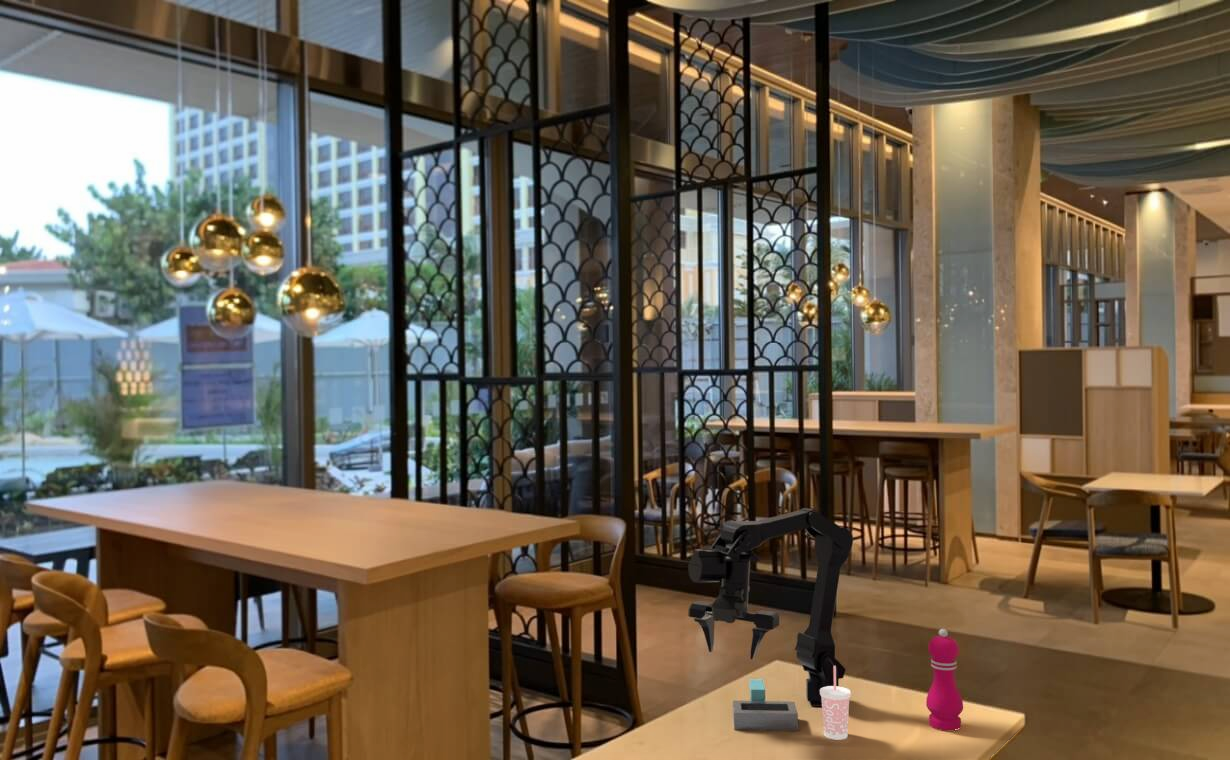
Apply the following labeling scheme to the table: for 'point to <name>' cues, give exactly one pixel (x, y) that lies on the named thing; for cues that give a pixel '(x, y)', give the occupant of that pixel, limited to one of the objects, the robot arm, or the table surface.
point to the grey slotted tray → (765, 715)
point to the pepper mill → (944, 684)
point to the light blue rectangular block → (757, 690)
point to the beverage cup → (835, 710)
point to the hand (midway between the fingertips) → (731, 655)
